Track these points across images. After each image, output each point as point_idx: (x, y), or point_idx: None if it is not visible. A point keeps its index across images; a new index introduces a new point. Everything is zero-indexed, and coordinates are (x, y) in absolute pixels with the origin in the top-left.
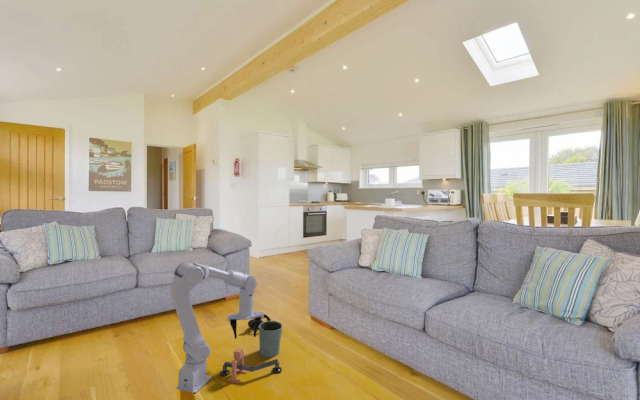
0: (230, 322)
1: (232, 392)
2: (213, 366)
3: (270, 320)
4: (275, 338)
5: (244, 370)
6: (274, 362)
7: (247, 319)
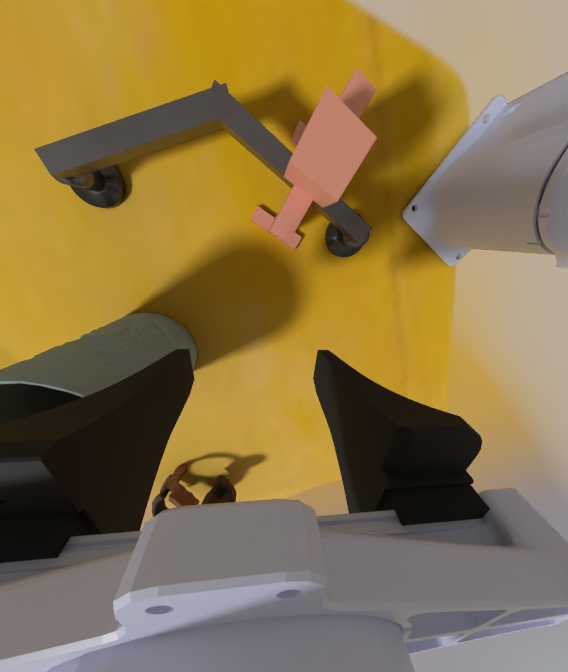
0: (463, 469)
1: (339, 23)
2: (372, 301)
3: (152, 510)
4: (50, 351)
5: (263, 226)
6: (66, 142)
7: (193, 520)
